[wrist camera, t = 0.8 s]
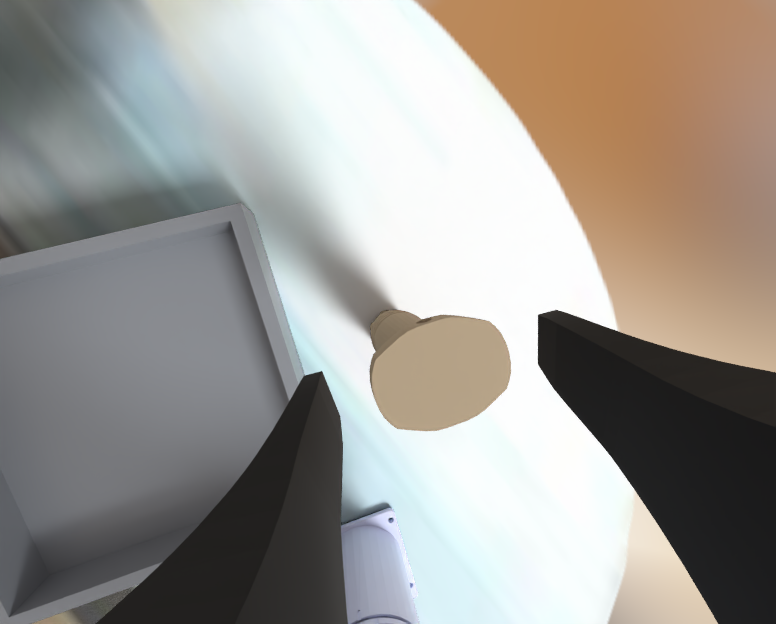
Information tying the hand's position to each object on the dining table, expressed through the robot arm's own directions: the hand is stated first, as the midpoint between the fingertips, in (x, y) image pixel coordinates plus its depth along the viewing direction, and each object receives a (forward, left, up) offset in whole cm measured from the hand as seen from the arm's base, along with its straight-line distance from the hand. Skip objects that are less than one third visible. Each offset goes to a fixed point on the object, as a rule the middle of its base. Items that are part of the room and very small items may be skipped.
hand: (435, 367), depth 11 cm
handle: (-2, -1, -19) cm, 19 cm away
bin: (-2, +19, -19) cm, 26 cm away
